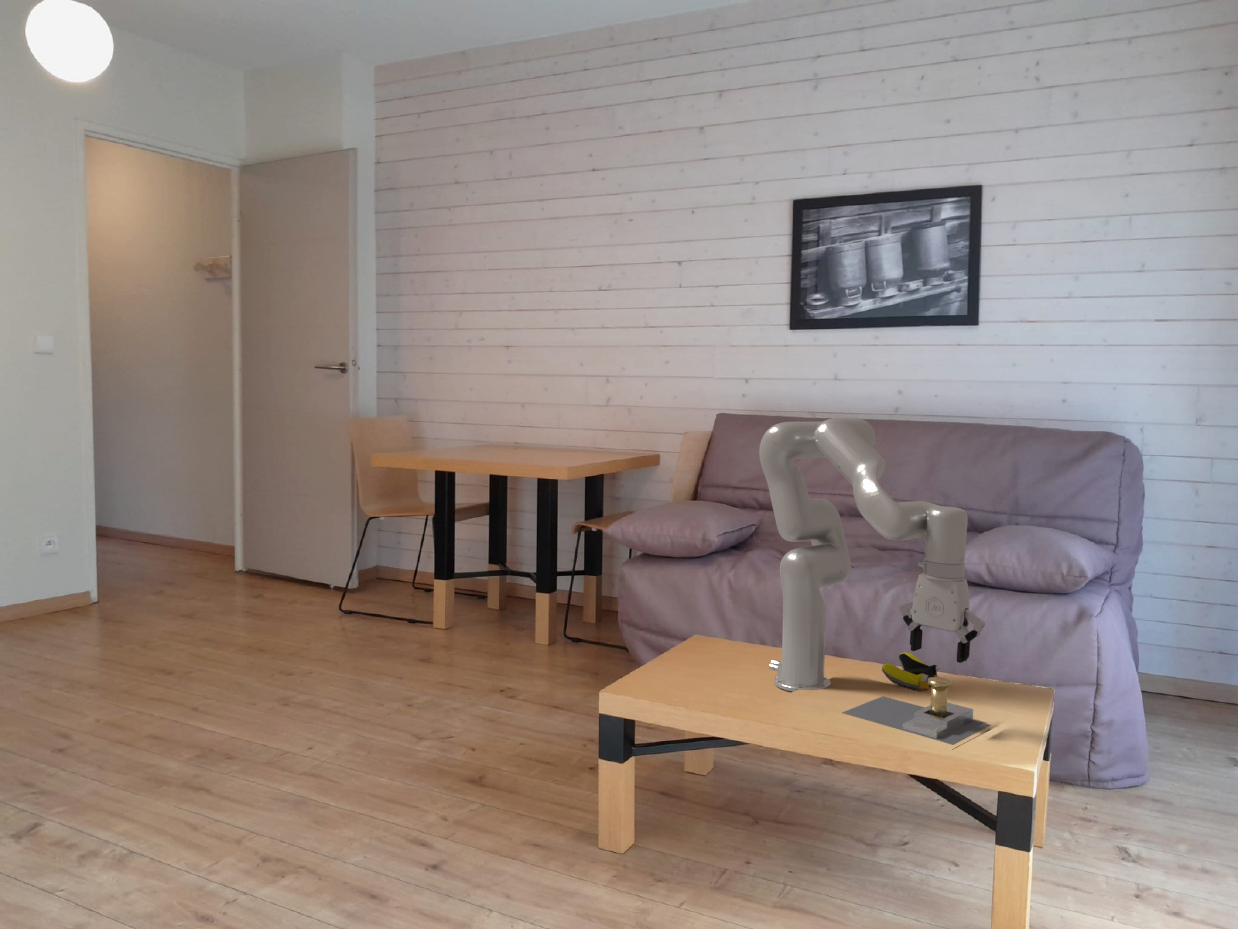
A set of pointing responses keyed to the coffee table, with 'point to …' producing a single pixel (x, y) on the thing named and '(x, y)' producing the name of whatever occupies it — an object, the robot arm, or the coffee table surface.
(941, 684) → the pin
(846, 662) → the coffee table surface
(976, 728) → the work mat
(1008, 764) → the coffee table surface
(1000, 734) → the coffee table surface
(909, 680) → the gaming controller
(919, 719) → the grey slotted housing block
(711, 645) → the coffee table surface
